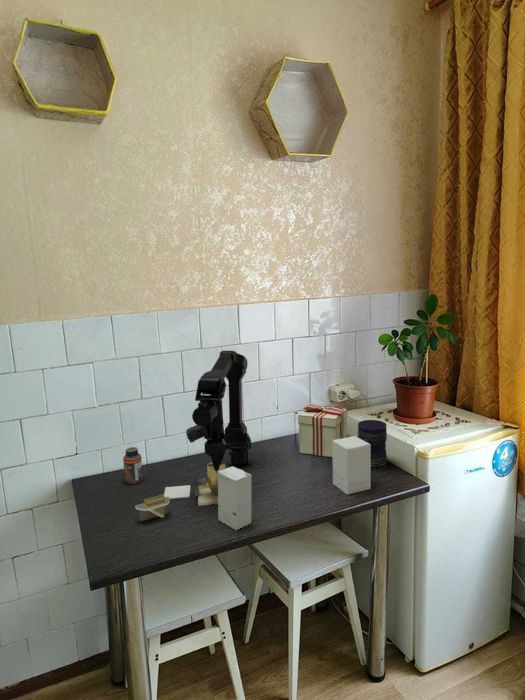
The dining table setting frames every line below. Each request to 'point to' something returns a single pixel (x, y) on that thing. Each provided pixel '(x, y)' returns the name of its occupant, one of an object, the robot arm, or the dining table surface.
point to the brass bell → (212, 476)
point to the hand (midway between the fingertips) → (216, 464)
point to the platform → (153, 507)
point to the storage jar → (374, 441)
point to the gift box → (321, 429)
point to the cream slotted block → (205, 493)
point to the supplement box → (351, 464)
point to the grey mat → (177, 492)
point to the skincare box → (234, 497)
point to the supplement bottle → (132, 466)
